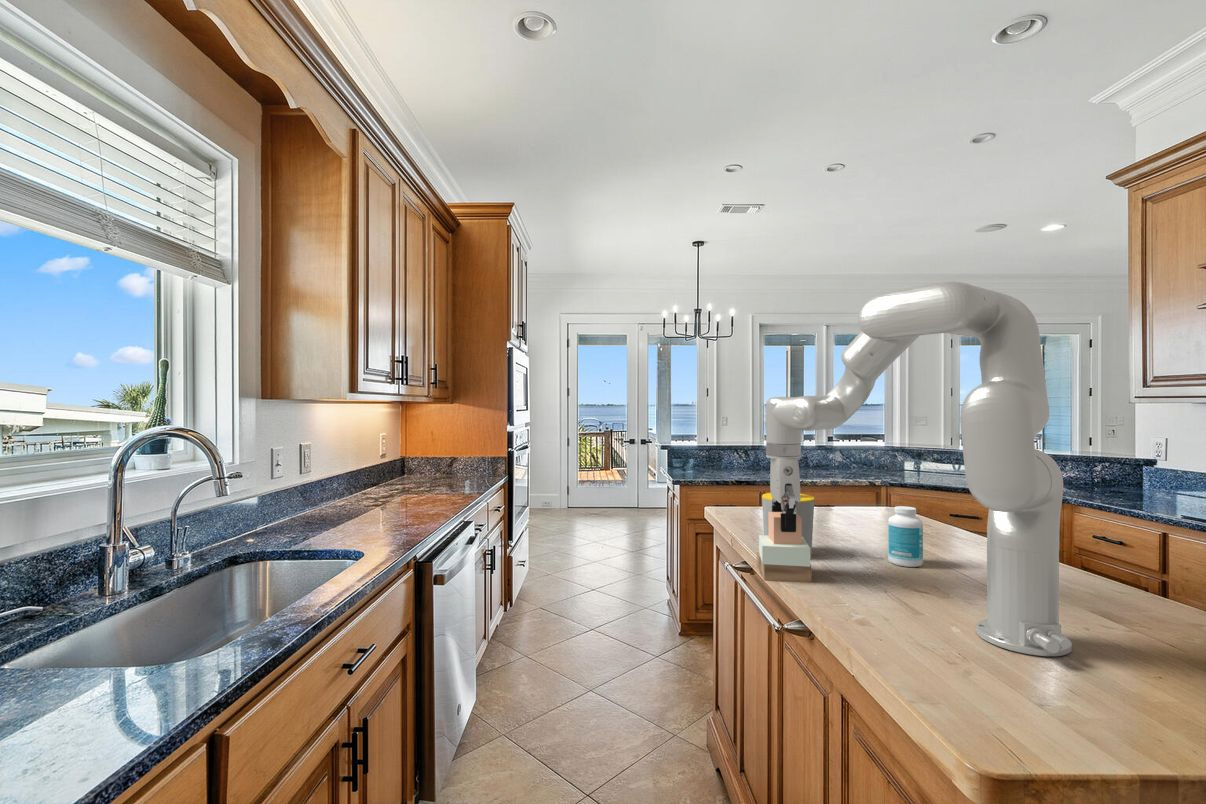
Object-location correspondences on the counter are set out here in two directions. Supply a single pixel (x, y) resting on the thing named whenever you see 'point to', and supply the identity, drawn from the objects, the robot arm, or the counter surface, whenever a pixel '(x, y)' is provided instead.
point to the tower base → (783, 572)
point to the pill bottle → (905, 537)
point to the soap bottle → (802, 509)
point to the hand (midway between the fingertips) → (783, 526)
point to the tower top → (783, 553)
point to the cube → (783, 537)
